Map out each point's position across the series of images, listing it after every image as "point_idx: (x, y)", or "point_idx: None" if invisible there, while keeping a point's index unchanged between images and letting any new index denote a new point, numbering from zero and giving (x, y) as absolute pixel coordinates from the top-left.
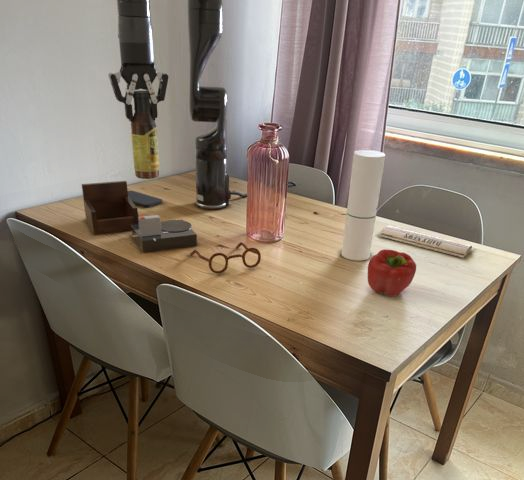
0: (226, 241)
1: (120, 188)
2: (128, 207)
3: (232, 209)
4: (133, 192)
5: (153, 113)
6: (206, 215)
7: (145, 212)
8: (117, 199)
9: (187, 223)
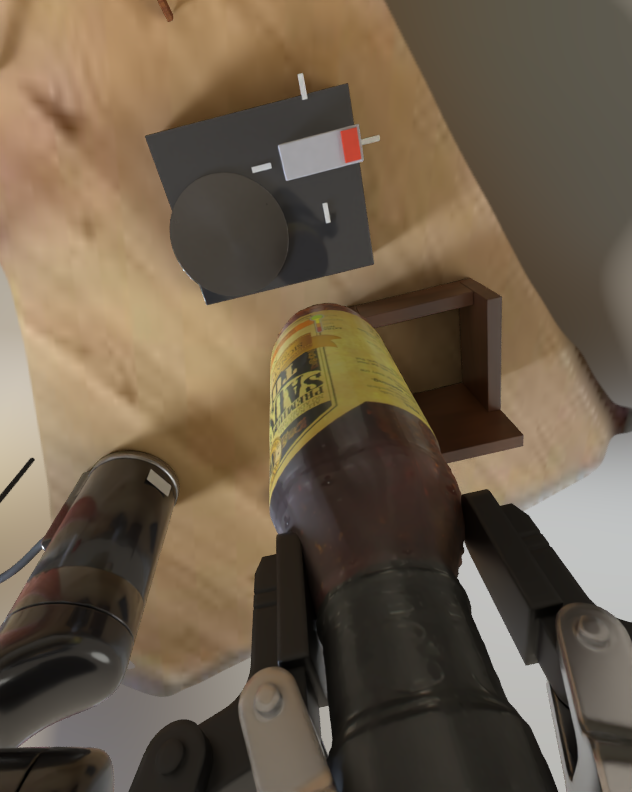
0: (50, 171)
1: None
2: None
3: (69, 453)
4: None
5: (290, 577)
6: (144, 410)
7: None
8: None
9: (185, 255)
